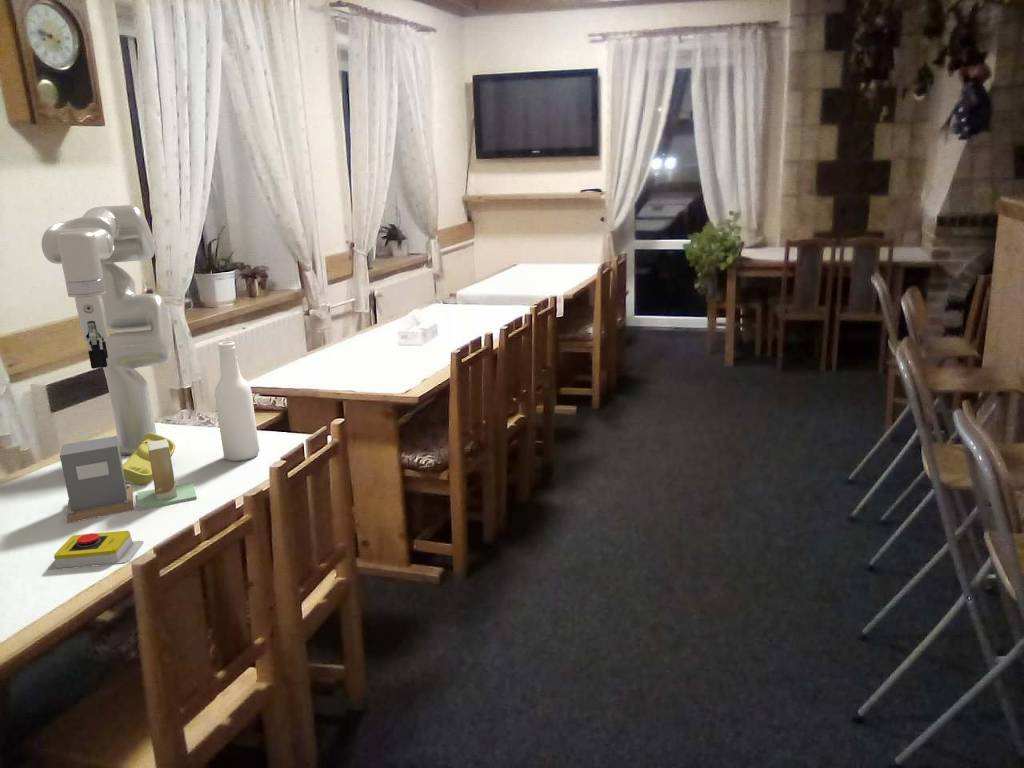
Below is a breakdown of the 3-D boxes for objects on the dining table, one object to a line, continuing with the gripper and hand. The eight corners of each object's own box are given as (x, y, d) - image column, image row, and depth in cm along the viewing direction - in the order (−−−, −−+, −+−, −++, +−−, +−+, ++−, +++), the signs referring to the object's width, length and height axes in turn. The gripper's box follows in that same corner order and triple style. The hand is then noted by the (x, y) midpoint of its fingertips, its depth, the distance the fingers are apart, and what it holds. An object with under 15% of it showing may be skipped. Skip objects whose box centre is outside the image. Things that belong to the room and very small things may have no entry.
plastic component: (149, 477, 188) (107, 462, 186) (141, 503, 190) (100, 488, 188) (181, 443, 206) (143, 429, 205) (174, 467, 208) (136, 453, 207)
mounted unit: (70, 503, 180) (57, 442, 176) (132, 491, 186) (122, 432, 182) (67, 523, 170) (53, 459, 166) (133, 509, 175) (122, 447, 171)
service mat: (137, 494, 183) (137, 492, 183) (193, 484, 188) (192, 481, 188) (138, 510, 175) (138, 507, 174) (196, 498, 179) (196, 496, 179)
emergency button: (63, 529, 157) (141, 523, 159) (67, 550, 158) (145, 543, 160) (41, 551, 148) (125, 544, 150) (46, 572, 149) (129, 565, 151)
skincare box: (155, 491, 183) (146, 441, 180) (175, 487, 185) (167, 438, 182) (156, 501, 177) (147, 450, 174) (177, 497, 179) (169, 446, 176)
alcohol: (265, 450, 209) (250, 338, 201) (250, 462, 201) (234, 346, 193) (234, 450, 211) (218, 339, 203) (218, 462, 202) (200, 347, 194)
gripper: (104, 291, 170) (118, 368, 174) (105, 282, 185) (118, 353, 189) (64, 294, 167) (79, 373, 171) (69, 285, 182) (83, 358, 186)
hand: (100, 363), depth 180 cm, fingers open, 9 cm apart
